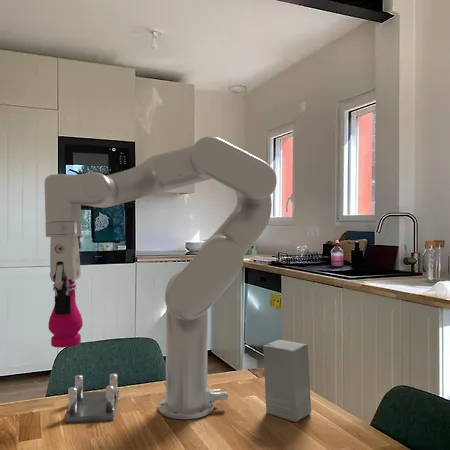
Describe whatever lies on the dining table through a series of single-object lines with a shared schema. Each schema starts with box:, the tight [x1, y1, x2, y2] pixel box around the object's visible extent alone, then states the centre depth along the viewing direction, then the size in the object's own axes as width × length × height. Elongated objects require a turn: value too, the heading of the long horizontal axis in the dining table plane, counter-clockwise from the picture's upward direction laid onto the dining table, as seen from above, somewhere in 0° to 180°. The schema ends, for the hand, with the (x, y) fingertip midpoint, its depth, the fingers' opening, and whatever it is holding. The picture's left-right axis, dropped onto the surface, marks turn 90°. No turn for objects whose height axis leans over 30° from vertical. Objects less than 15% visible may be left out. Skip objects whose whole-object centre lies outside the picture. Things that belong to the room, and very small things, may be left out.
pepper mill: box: [47, 269, 84, 349], centre depth 101 cm, size 7×7×20 cm
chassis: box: [64, 373, 120, 424], centre depth 103 cm, size 10×14×6 cm
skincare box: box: [262, 338, 312, 423], centre depth 101 cm, size 8×7×16 cm
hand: (65, 310), depth 101 cm, fingers closed on pepper mill, 5 cm apart
